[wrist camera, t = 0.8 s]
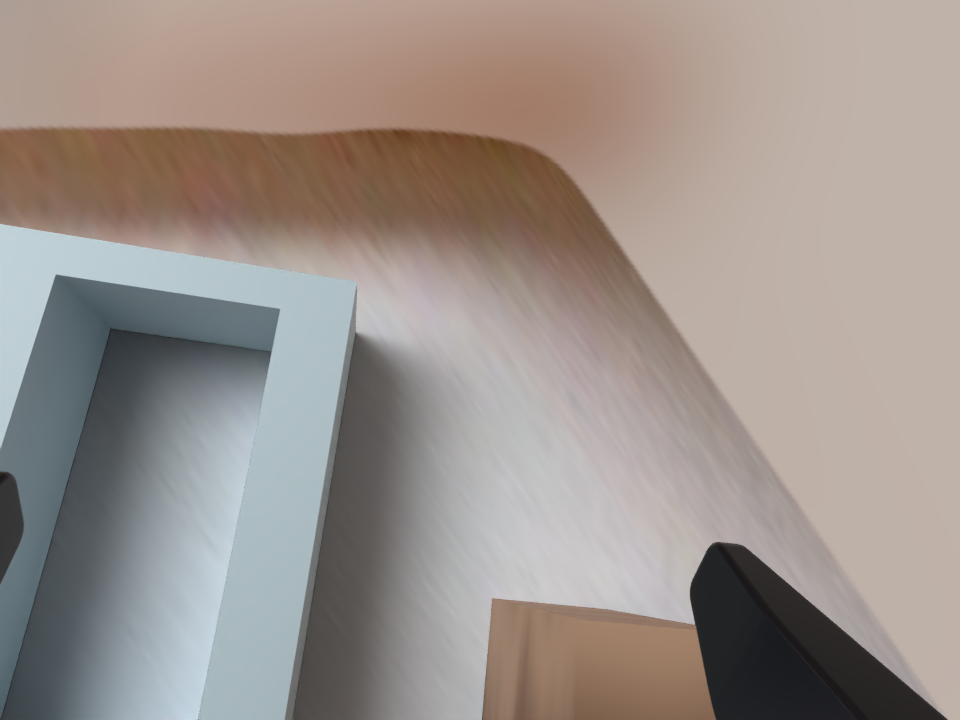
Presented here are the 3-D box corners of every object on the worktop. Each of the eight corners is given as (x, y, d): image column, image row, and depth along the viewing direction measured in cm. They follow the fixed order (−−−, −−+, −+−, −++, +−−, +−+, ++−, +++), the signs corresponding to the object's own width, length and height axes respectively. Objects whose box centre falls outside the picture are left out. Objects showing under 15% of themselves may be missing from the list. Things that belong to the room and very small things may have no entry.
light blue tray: (281, 789, 20) (262, 851, 16) (-95, 770, 18) (-229, 832, 14) (355, 331, 24) (357, 281, 20) (57, 286, 23) (-10, 222, 18)
